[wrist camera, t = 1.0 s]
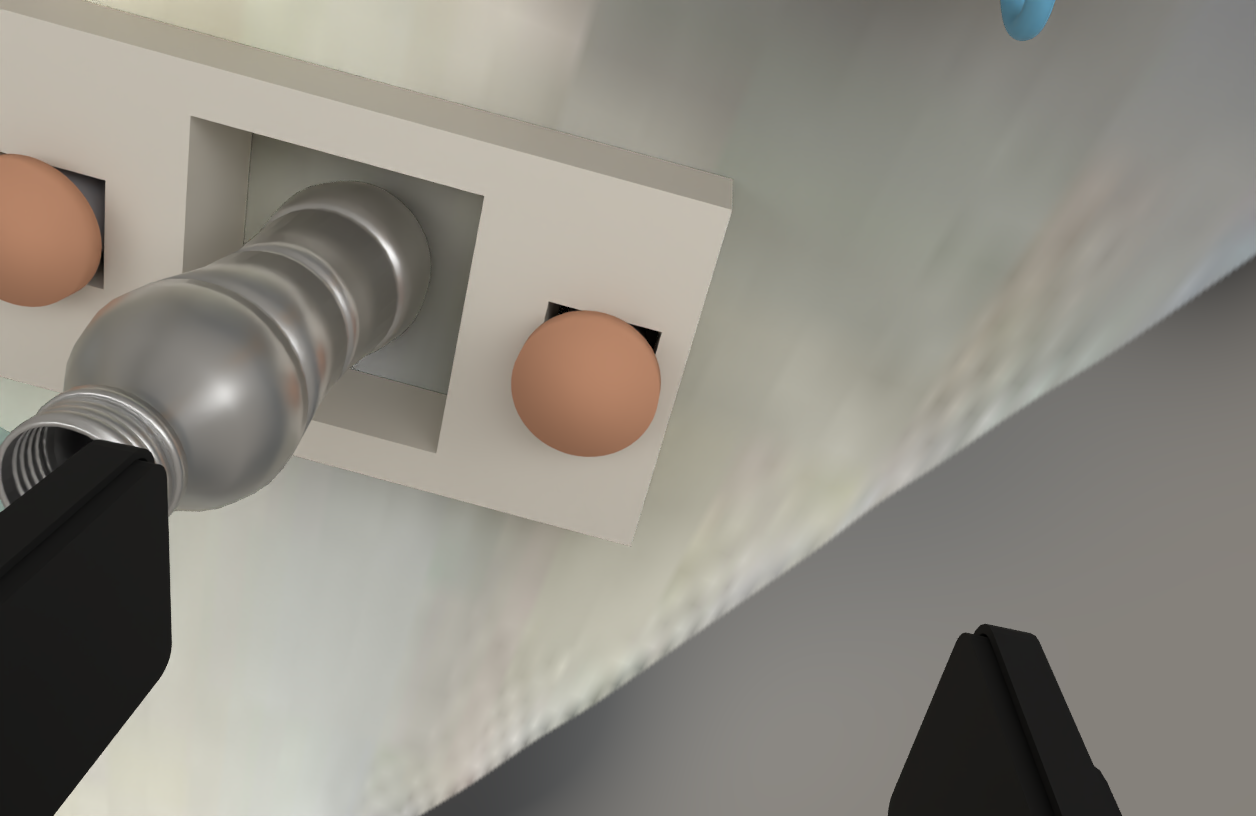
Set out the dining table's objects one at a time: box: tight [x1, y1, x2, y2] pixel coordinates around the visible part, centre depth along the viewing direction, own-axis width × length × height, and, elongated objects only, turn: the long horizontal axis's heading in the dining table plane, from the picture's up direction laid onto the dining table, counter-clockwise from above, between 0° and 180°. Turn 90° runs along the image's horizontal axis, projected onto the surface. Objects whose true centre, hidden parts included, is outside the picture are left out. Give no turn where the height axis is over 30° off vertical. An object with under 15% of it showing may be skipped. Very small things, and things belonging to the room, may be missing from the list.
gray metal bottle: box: [0, 181, 431, 517], centre depth 31 cm, size 6×7×20 cm
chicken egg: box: [0, 154, 105, 307], centre depth 37 cm, size 5×5×6 cm
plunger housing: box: [0, 0, 733, 547], centre depth 38 cm, size 27×14×5 cm, turn 76°
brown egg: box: [511, 308, 661, 457], centre depth 37 cm, size 5×5×6 cm
